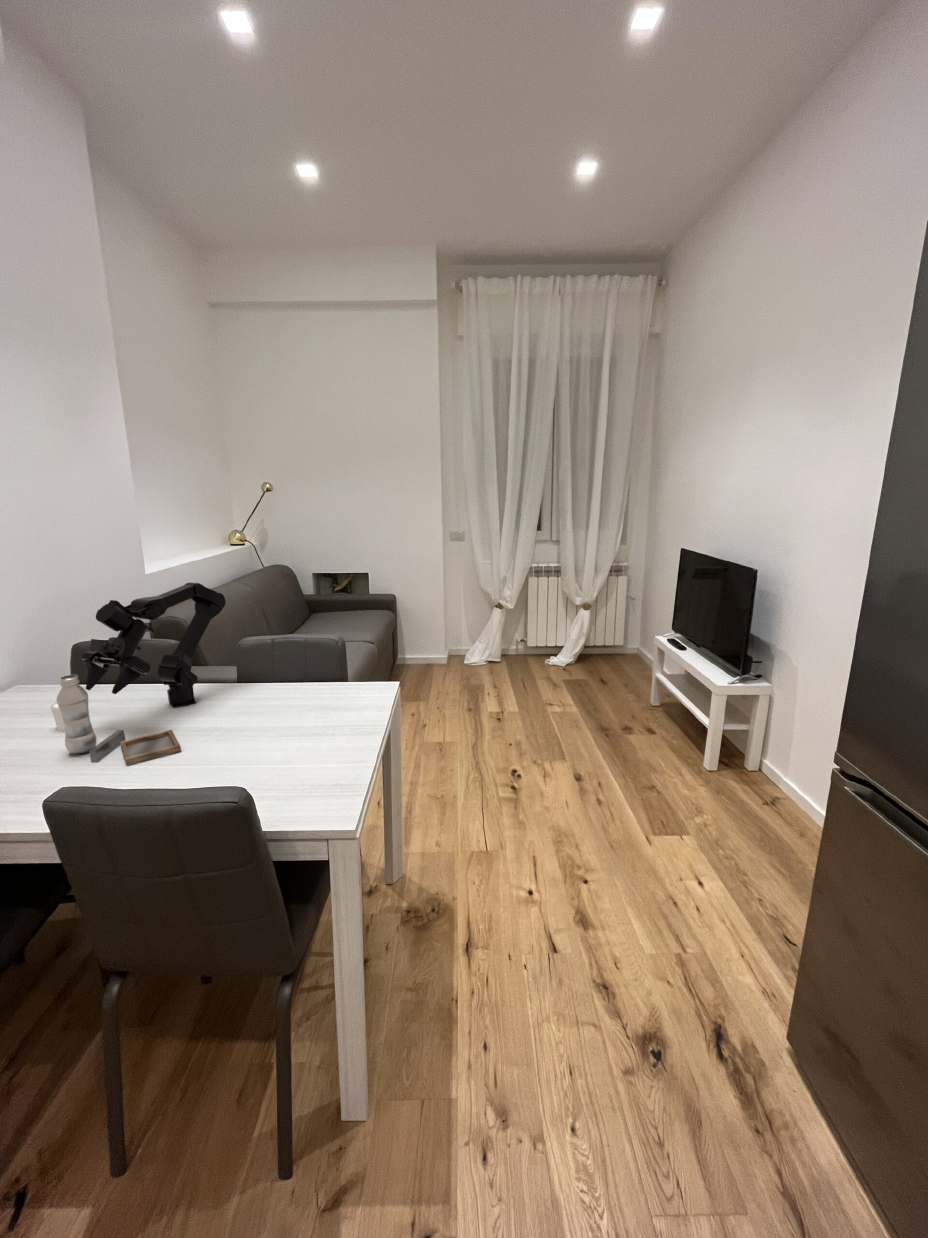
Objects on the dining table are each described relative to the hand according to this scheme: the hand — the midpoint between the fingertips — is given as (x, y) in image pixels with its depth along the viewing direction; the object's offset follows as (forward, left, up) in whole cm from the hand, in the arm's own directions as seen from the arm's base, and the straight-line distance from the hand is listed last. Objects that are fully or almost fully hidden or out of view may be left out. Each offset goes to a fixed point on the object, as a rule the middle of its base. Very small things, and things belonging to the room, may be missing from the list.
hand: (100, 691), depth 144 cm
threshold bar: (+1, +9, -13) cm, 16 cm away
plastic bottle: (+6, +5, -13) cm, 16 cm away
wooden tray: (-8, +15, -13) cm, 22 cm away
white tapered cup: (+8, -15, -13) cm, 21 cm away
